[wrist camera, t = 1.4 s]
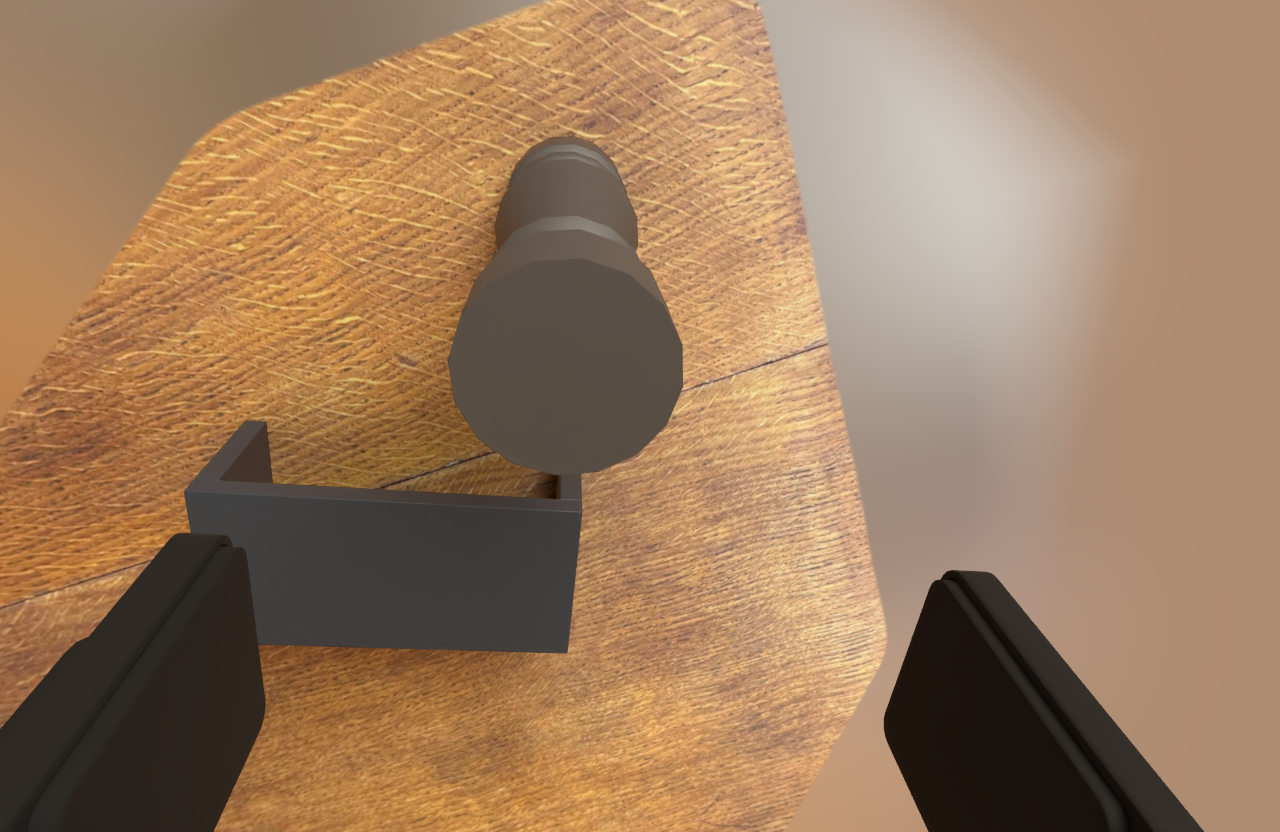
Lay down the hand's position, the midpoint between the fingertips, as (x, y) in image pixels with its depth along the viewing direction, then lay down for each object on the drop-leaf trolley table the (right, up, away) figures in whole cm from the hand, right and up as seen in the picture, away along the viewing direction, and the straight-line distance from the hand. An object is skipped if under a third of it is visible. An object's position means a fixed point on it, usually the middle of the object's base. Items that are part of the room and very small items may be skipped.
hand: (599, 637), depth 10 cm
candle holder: (-3, +15, +30) cm, 34 cm away
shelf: (-14, -2, +38) cm, 40 cm away
